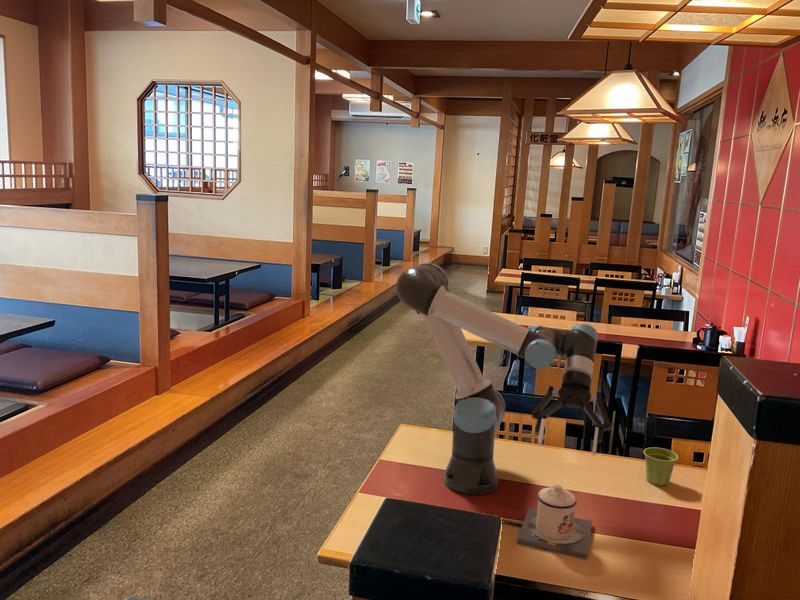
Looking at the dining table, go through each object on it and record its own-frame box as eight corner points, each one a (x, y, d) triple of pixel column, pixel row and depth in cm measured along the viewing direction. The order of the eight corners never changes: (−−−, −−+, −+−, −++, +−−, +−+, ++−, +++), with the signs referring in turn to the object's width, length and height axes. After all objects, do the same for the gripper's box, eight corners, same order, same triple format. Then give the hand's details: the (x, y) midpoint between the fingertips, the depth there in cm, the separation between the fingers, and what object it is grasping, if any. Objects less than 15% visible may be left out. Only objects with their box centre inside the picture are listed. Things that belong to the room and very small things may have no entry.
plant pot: (671, 492, 180) (675, 463, 179) (637, 483, 185) (640, 455, 184) (677, 480, 188) (680, 452, 187) (644, 471, 193) (647, 444, 192)
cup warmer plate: (488, 536, 154) (488, 530, 154) (502, 506, 169) (502, 501, 168) (586, 559, 146) (587, 552, 146) (591, 525, 161) (592, 519, 161)
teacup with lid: (563, 545, 149) (567, 499, 147) (528, 531, 154) (531, 486, 152) (584, 525, 158) (588, 481, 156) (551, 512, 163) (554, 470, 161)
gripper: (625, 389, 173) (617, 463, 161) (532, 376, 181) (518, 445, 170) (626, 375, 167) (618, 451, 156) (530, 363, 175) (516, 433, 164)
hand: (566, 448), depth 163 cm, fingers open, 13 cm apart
